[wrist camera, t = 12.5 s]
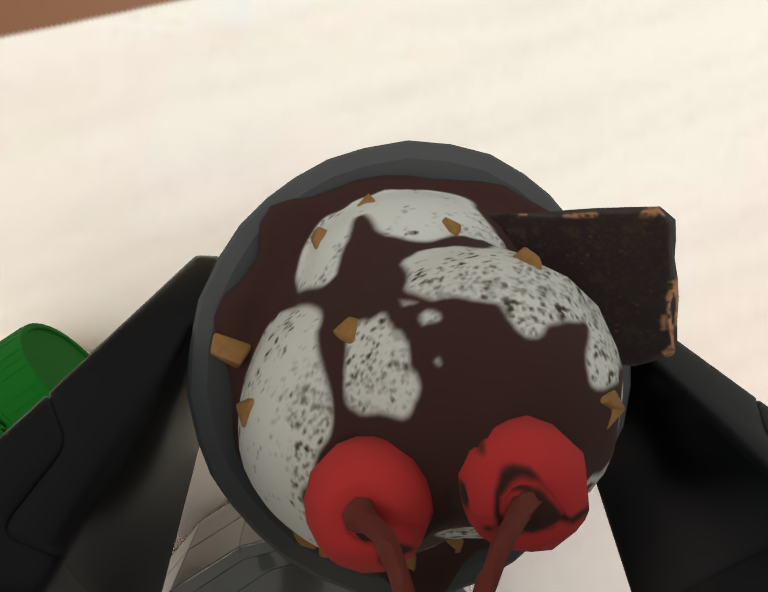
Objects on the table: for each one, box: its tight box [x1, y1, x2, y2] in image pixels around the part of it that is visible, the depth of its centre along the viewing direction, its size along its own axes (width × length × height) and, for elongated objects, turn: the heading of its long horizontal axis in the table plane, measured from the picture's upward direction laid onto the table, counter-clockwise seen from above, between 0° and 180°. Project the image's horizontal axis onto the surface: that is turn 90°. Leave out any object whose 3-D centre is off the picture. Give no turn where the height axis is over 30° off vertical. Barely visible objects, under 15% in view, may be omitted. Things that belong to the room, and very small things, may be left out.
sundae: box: [187, 141, 679, 592], centre depth 10 cm, size 7×7×15 cm
